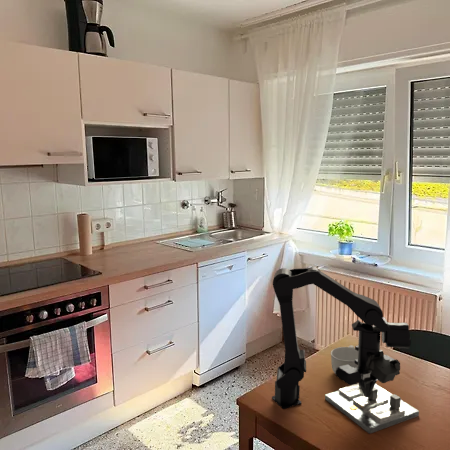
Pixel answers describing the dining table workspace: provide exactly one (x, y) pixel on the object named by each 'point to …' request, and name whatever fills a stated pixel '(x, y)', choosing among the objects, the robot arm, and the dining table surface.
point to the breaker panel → (370, 408)
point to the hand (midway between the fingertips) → (366, 397)
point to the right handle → (395, 401)
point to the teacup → (343, 357)
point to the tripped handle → (374, 394)
